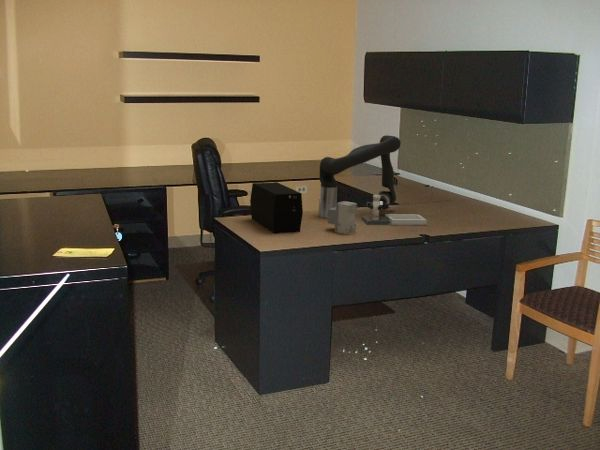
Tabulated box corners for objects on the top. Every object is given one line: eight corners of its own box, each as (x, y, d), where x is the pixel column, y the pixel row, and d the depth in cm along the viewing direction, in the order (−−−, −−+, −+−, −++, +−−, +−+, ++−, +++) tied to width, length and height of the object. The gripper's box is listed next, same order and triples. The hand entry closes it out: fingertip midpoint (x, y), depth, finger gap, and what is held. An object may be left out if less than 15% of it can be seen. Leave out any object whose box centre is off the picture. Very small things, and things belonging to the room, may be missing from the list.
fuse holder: (367, 224, 357) (367, 221, 356) (361, 219, 368) (361, 215, 368) (388, 224, 359) (388, 221, 358) (382, 219, 370) (382, 216, 370)
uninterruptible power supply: (277, 217, 365) (278, 181, 360) (303, 232, 335) (305, 193, 330) (249, 219, 358) (250, 183, 353) (273, 234, 328) (274, 195, 324)
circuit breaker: (332, 227, 348) (333, 199, 345) (355, 231, 341) (357, 203, 337) (324, 229, 342) (325, 201, 339) (348, 234, 335) (350, 205, 331)
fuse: (372, 222, 361) (374, 196, 358) (370, 221, 365) (372, 194, 362) (379, 222, 362) (381, 196, 358) (377, 221, 366) (379, 194, 362)
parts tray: (391, 225, 357) (392, 220, 357) (384, 219, 370) (385, 214, 370) (426, 225, 361) (426, 220, 360) (418, 219, 374) (418, 214, 373)
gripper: (369, 194, 376) (362, 199, 360) (394, 196, 372) (388, 202, 356) (368, 207, 378) (361, 213, 362) (393, 209, 374) (387, 216, 358)
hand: (375, 207), depth 359 cm, fingers closed on fuse, 3 cm apart
